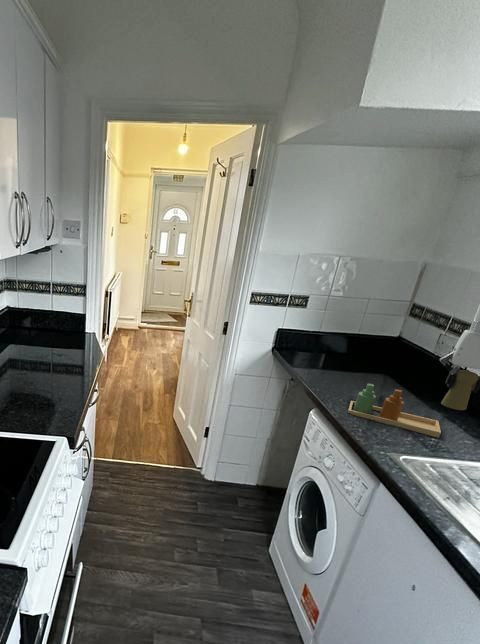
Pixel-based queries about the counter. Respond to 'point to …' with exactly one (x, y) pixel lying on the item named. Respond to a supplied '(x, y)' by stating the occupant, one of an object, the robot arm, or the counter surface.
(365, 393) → the green bottle
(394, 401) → the amber bottle
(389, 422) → the tray
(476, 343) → the robot arm
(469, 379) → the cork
